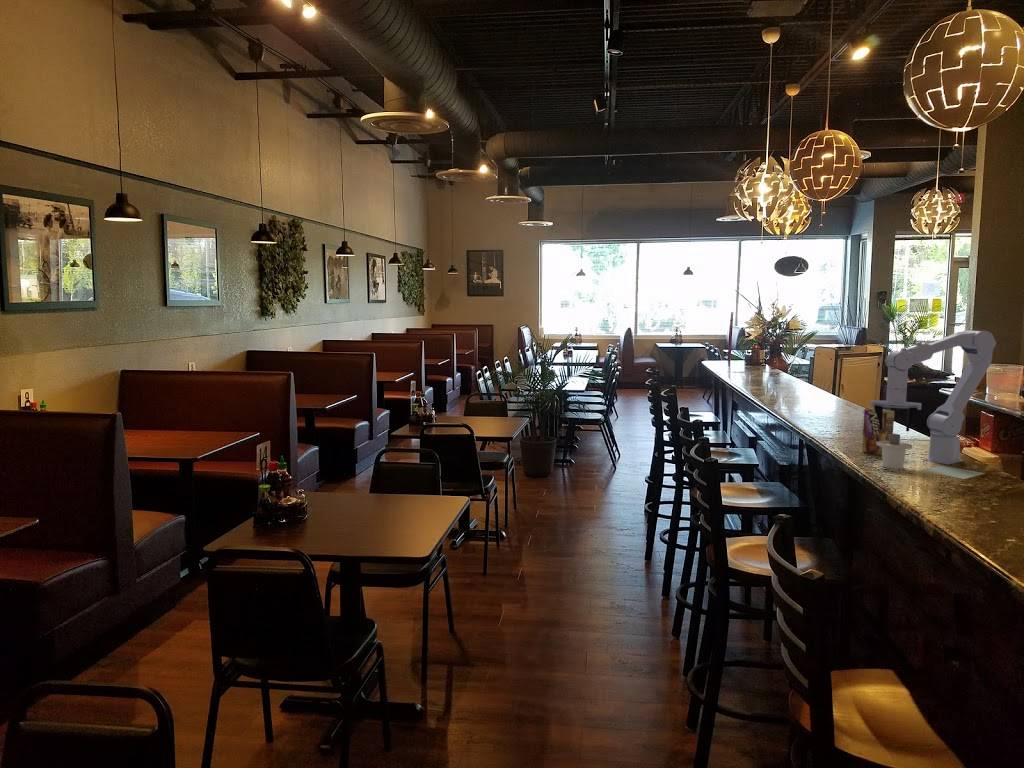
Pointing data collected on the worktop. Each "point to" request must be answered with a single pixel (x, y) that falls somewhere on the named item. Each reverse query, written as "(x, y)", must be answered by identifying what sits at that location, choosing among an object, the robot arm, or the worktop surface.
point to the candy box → (876, 430)
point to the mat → (952, 472)
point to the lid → (894, 443)
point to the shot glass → (893, 457)
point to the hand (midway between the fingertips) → (894, 430)
